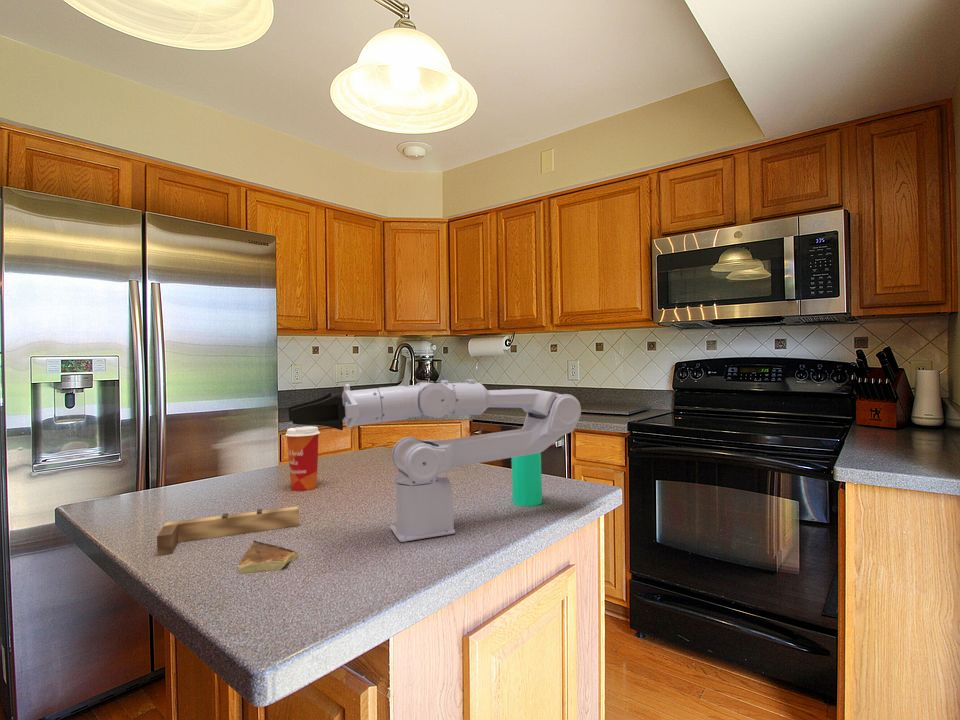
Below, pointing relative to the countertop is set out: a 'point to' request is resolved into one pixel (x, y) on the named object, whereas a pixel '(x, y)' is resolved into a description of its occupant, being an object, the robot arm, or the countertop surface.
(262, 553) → the shard
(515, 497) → the candle
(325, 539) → the countertop surface
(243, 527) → the oak ledge
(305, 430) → the paper cup
